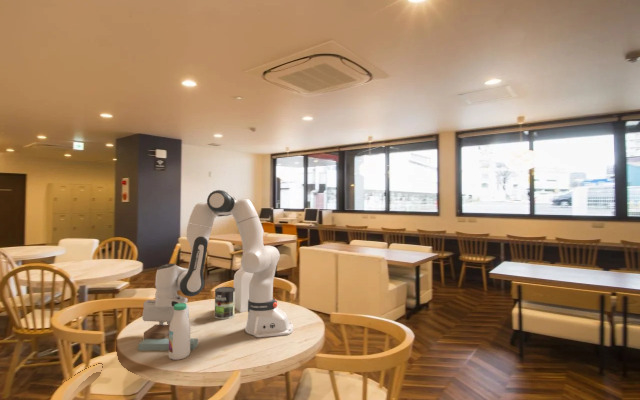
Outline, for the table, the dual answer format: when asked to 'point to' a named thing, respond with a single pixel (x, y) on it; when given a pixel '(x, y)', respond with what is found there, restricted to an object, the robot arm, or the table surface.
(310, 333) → the table surface
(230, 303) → the coffee can
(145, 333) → the block
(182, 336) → the milk bottle
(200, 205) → the robot arm
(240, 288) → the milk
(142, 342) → the board
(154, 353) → the table surface
